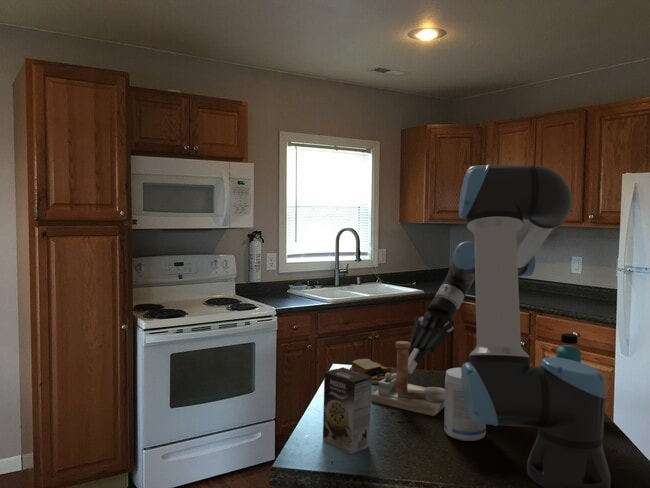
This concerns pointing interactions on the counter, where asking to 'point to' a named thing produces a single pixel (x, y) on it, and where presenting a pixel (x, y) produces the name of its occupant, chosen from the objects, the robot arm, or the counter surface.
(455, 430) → the supplement tub
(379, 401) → the stand
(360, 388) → the coffee box
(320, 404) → the counter surface
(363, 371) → the toy sandwich meal
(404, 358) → the lever
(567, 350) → the beverage bottle
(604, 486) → the robot arm
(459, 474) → the counter surface
